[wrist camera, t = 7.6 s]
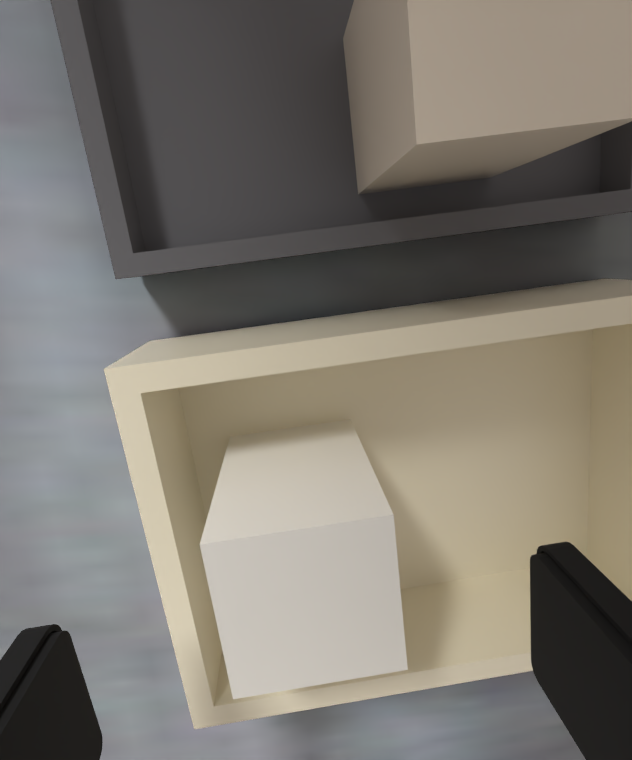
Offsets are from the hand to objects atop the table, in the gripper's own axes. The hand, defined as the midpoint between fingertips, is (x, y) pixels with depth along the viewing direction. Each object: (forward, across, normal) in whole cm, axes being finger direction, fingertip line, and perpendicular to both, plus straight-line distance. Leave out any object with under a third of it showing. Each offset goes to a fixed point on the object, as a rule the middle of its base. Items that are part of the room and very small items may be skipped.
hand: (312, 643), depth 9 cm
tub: (+7, -4, 0) cm, 8 cm away
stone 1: (+7, 0, 0) cm, 7 cm away
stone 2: (+7, -5, -11) cm, 14 cm away
